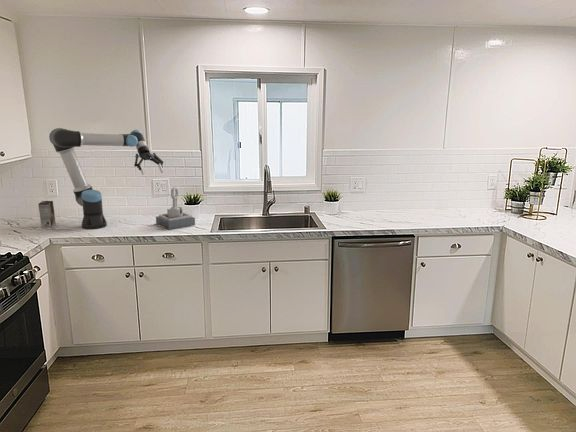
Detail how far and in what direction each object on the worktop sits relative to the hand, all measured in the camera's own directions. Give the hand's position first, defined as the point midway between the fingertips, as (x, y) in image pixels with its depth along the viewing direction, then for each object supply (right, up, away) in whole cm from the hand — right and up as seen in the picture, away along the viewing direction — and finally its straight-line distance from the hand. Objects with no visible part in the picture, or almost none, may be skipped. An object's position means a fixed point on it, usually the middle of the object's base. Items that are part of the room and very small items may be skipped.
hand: (153, 172), depth 292 cm
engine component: (+16, -30, -2) cm, 34 cm away
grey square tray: (+16, -35, -1) cm, 38 cm away
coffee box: (-66, -36, -10) cm, 76 cm away
